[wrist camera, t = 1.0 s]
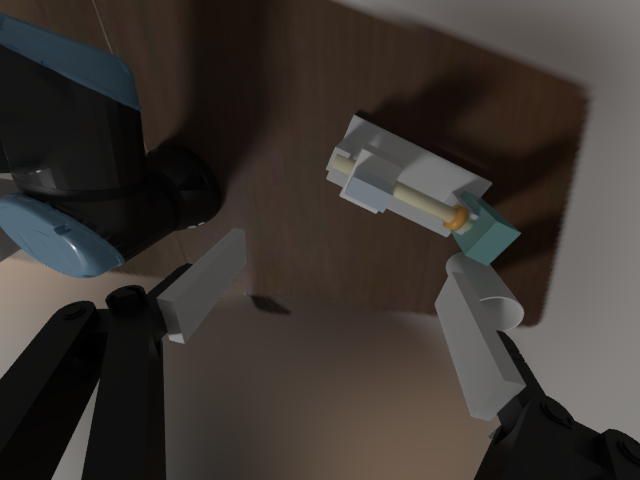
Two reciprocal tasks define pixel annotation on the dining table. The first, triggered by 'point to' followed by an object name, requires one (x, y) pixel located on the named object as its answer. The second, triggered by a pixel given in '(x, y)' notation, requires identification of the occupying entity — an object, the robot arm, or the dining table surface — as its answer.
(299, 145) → the dining table surface
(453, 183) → the grey vise fixture
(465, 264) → the mug
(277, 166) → the dining table surface
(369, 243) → the dining table surface
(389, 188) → the grey stepped block
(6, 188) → the vase
